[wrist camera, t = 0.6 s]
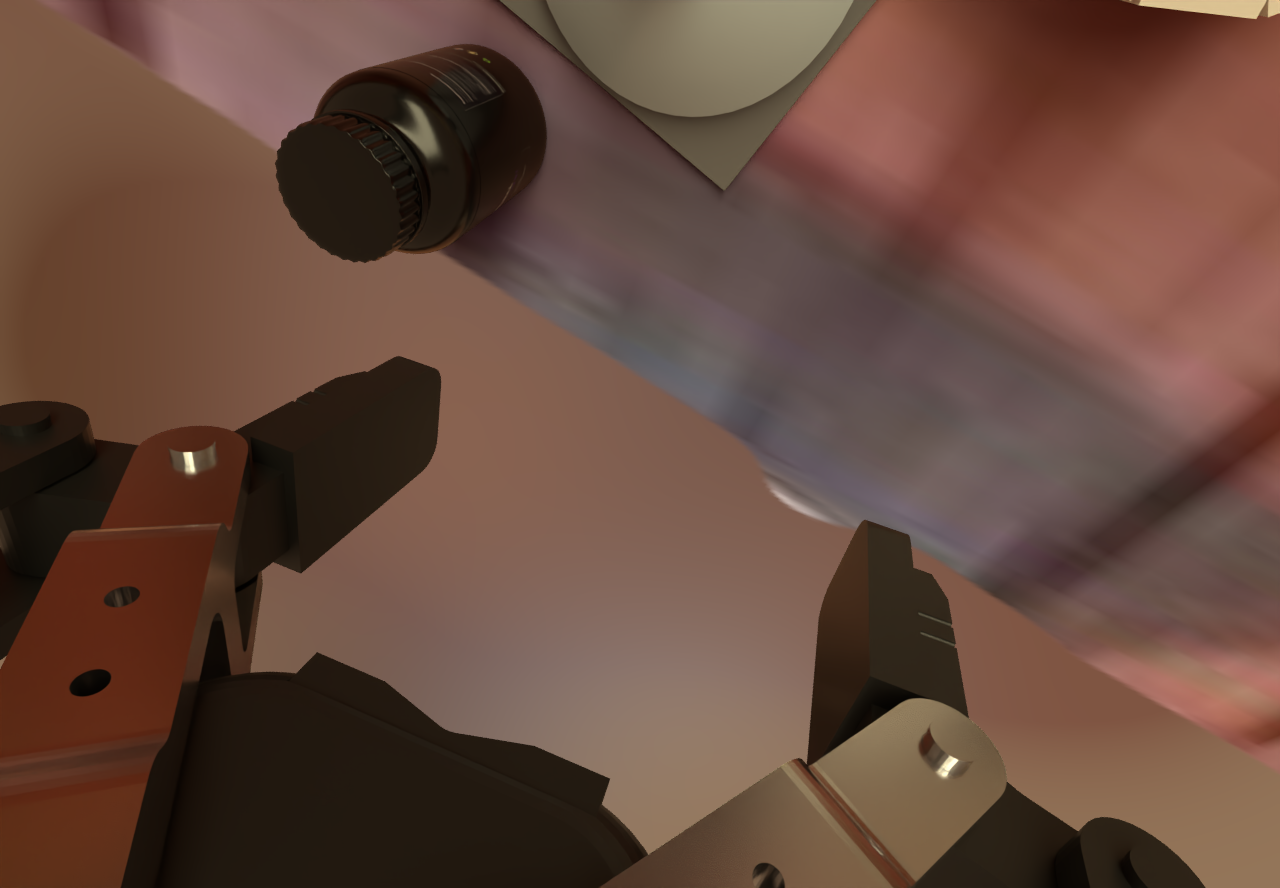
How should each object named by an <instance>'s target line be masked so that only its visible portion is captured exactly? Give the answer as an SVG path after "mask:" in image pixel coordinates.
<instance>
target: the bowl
mask: <svg viewBox="0 0 1280 888" xmlns="http://www.w3.org/2000/svg"><path fill="white" fill-rule="evenodd" d="M1121 1H1125V2H1129V3H1132V4H1136V5H1141V6H1149V7H1158V8H1166V9H1175V10H1183V11H1192V12H1200V13H1209V14H1217V15H1226V16H1234V17H1243V18H1251V19H1257V17H1258V15H1259V16H1264V17H1270V16H1273V15H1276V14H1278V13H1280V0H1121Z"/></svg>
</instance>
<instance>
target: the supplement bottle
mask: <svg viewBox="0 0 1280 888" xmlns="http://www.w3.org/2000/svg"><path fill="white" fill-rule="evenodd" d="M546 140H547V131H546V122H545V116H544V112H543V109H542V106H541V103H540V100H539V98H538V96H537V94H536V92H535V90H534V88H533V86H532V85H531V83H530V82H529V80H528V79H527V77H526V76H525V75H524V74H523V72H522V71H521V70H520V69H519V68H518V67H517V66H516V65H515V64H514V63H513V62H511V61H510V60H509V59H507V58H506V57H505V56H503V55H501V54H500V53H498V52H496V51H494V50H492V49H489V48H487V47H483V46H480V45H473V44H460V45H453V46H449V47H444V48H440V49H436V50H432V51H429V52H425V53H421V54H417V55H413V56H410V57H406V58H402V59H398V60H394V61H391V62H387V63H383V64H379V65H376V66H372V67H368V68H364V69H361V70H358V71H355V72H353V73H350V74H348V75H345V76H344V77H342V78H340V79H339V80H337V81H336V82H335V83H334V84H332V85H331V87H330V88H329V89H328V90H327V91H326V92H325V94H324V95H323V97H322V98H321V100H320V102H319V104H318V106H317V109H316V112H315V115H314V118H313V119H312V120H311V121H308V122H305V123H302V124H300V125H298V126H297V128H296V129H293V130H291V131H289V133H288V135H287V138H285V139H283V140H282V142H281V148H280V149H279V150H278V151H277V156H278V159H277V160H276V162H275V165H276V169H277V173H276V178H277V180H278V183H279V191H280V193H281V194H282V196H283V201H284V204H285V205H286V207H287V208H288V209H289V212H290V215H291V217H292V218H293V219H294V220H295V221H296V222H297V224H298V226H299V228H300V229H301V230H303V231H304V232H305V233H306V235H307V236H308V238H309V239H311V240H312V241H314V242H316V244H317V245H318V246H319V247H320V248H322V249H325V250H327V251H328V252H329V253H330V254H331V255H336V256H338V257H340V258H341V259H343V260H347V259H348V260H350V261H353V262H358V261H361V262H364V263H366V262H369V261H371V260H372V261H376V260H379V259H380V258H382V257H384V256H387V255H389V254H390V253H392V252H393V251H398V252H403V253H411V254H423V253H430V252H434V251H438V250H440V249H443V248H445V247H447V246H448V245H450V244H452V243H453V242H455V241H456V240H458V239H459V238H460V237H462V236H463V235H464V234H466V233H467V232H468V231H470V230H471V229H472V228H474V227H475V226H476V225H477V224H479V223H480V222H481V221H483V220H484V219H485V218H487V217H488V216H489V215H490V214H492V213H493V212H494V211H496V210H497V209H498V208H500V207H501V206H502V205H503V204H505V203H506V202H507V201H509V200H510V199H511V198H513V197H514V196H515V195H516V194H518V193H519V192H520V191H521V190H522V189H524V188H525V187H526V186H527V185H528V184H529V183H530V182H531V181H532V179H533V178H534V177H535V175H536V174H537V172H538V170H539V168H540V166H541V164H542V161H543V158H544V154H545V149H546Z"/></svg>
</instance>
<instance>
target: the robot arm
mask: <svg viewBox="0 0 1280 888" xmlns="http://www.w3.org/2000/svg"><path fill="white" fill-rule="evenodd" d="M440 391H441V376H440V373H439V371H438V370H437V369H435V368H432V367H429V366H427V365H423V364H421V363H418V362H415V361H412V360H409V359H406V358H403V357H400V356H398V357H394V358H392V359H391V360H388V361H387V362H385V363H383V364H381V365H379V366H378V367H376V368H374V369H372V370H370V371H369V372H365V371H364V372H359V373H355V374H351V375H346V376H342V377H338V378H335V379H333V380H331V381H329V382H327V383H325V384H323V385H322V386H320V387H318V388H316V389H315V390H314V392H311V391H310V392H308V393H306V394H304V395H303V396H301V397H299V398H297V400H296V402H294V401H291V402H289V403H288V404H285V405H284V406H282V407H280V408H278V409H276V410H274V411H272V412H271V413H268V414H267V415H265V416H263V417H261V418H259V419H257V420H255V421H253V422H251V423H249V424H247V425H245V426H243V427H242V428H240V429H238V430H236V431H231V430H228V429H224V428H219V427H212V426H189V427H181V428H176V429H171V430H167V431H164V432H161V433H159V434H156V435H154V436H152V437H150V438H148V439H147V440H145V441H143V442H142V443H141V444H140V445H132V444H125V443H118V442H110V441H103V440H97V439H94V437H93V433H92V429H91V425H90V421H89V417H88V415H87V414H86V412H85V411H83V410H82V409H80V408H78V407H76V406H73V405H70V404H66V403H61V402H52V401H30V402H19V403H12V404H7V405H2V406H0V660H1V659H3V658H4V657H5V656H7V657H6V659H5V661H4V663H3V665H2V667H1V669H0V888H1205V886H1204V885H1203V884H1202V882H1201V881H1200V879H1199V878H1198V877H1197V876H1196V875H1195V873H1194V872H1193V871H1192V870H1191V869H1190V868H1189V866H1187V864H1186V863H1184V861H1182V860H1181V858H1180V857H1179V856H1178V855H1176V854H1175V853H1174V852H1173V851H1172V850H1171V849H1169V848H1168V847H1167V846H1166V845H1165V844H1163V843H1162V842H1161V841H1159V840H1158V839H1156V838H1155V837H1154V836H1152V835H1150V834H1149V833H1147V832H1146V831H1144V830H1142V829H1140V828H1138V827H1136V826H1134V825H1133V824H1130V823H1127V822H1125V821H1122V820H1119V819H1114V818H1108V817H1100V818H1095V819H1093V820H1091V821H1089V822H1087V823H1086V825H1084V826H1083V827H1082V828H1081V829H1080V830H1079V831H1076V830H1075V829H1073V828H1072V827H1070V826H1069V825H1067V824H1066V823H1064V822H1063V821H1061V820H1060V819H1058V818H1057V817H1055V816H1054V815H1052V814H1051V813H1049V812H1048V811H1046V810H1045V809H1043V808H1042V807H1040V806H1039V805H1037V804H1036V803H1035V802H1033V801H1032V800H1030V799H1029V798H1027V797H1026V796H1024V795H1023V794H1021V793H1020V792H1019V791H1017V790H1016V789H1015V788H1014V787H1013V786H1012V785H1010V784H1009V783H1008V782H1007V776H1006V770H1005V766H1004V763H1003V760H1002V758H1001V756H1000V754H999V752H998V750H997V749H996V747H995V746H994V744H993V743H992V741H991V740H990V739H989V738H988V737H987V735H986V734H985V733H984V732H983V731H982V730H981V729H980V728H979V727H978V726H977V725H976V724H975V723H974V722H972V721H971V720H970V719H969V716H968V711H967V705H966V699H965V694H964V688H963V682H962V677H961V671H960V665H959V659H958V654H957V649H956V648H954V647H955V644H956V643H955V637H954V631H953V628H951V625H952V620H951V614H950V608H949V602H948V599H947V597H946V596H945V594H944V592H943V591H942V589H941V588H940V586H939V585H938V583H937V582H936V580H935V579H934V577H933V576H932V574H929V573H927V572H924V571H921V570H918V569H915V568H913V560H912V550H911V542H910V537H909V535H908V534H905V533H902V532H899V531H896V530H893V529H890V528H888V527H885V526H882V525H879V524H876V523H873V522H870V521H867V520H864V521H862V522H861V524H860V525H859V527H858V528H857V530H856V532H855V534H854V536H853V538H852V540H851V542H850V544H849V546H848V548H847V550H846V552H845V554H844V557H843V558H842V560H841V562H840V565H839V566H838V568H837V571H836V573H835V575H834V577H833V579H832V581H831V583H830V585H829V587H828V589H827V592H826V594H825V597H824V600H823V603H822V607H821V611H820V616H819V622H818V635H817V646H816V659H815V672H814V683H813V695H812V696H813V697H812V708H811V720H810V733H809V745H808V757H807V765H806V763H805V762H804V761H803V760H802V759H800V758H798V759H794V760H791V761H789V762H787V763H785V764H784V765H782V766H781V767H779V768H778V769H776V770H775V771H773V772H772V773H770V774H769V775H767V776H766V777H764V778H763V779H761V780H760V781H758V782H757V783H755V784H754V785H752V786H751V787H749V788H748V789H746V790H745V791H743V792H742V793H740V794H739V795H737V796H736V797H734V798H733V799H731V800H730V801H728V802H727V803H725V804H724V805H722V806H721V807H719V808H718V809H716V810H715V811H713V812H712V813H710V814H709V815H707V816H706V817H704V818H703V819H701V820H700V821H698V822H697V823H695V824H694V825H692V826H691V827H689V828H688V829H686V830H685V831H683V832H682V833H680V834H679V835H677V836H676V837H674V838H673V839H671V840H670V841H668V842H667V843H665V844H664V845H662V846H661V847H659V848H658V849H656V850H655V851H653V852H652V853H650V854H649V855H648V854H647V852H646V850H645V849H644V847H643V846H642V845H641V844H640V842H639V841H638V840H637V839H636V837H635V836H634V835H633V833H632V832H631V831H630V830H629V829H628V828H627V827H626V826H625V825H624V824H623V823H622V822H621V821H620V820H619V819H618V818H617V817H616V816H615V815H614V814H613V813H611V812H610V811H609V810H608V809H606V808H605V807H604V806H603V805H602V802H603V799H604V796H605V792H606V790H607V787H608V784H609V780H610V779H609V778H607V777H605V776H603V775H600V774H598V773H595V772H593V771H590V770H588V769H586V768H584V767H582V766H579V765H577V764H575V763H572V762H570V761H568V760H565V759H563V758H561V757H558V756H556V755H554V754H551V753H549V752H547V751H545V750H542V749H540V748H538V747H535V746H531V745H525V744H519V743H513V742H507V741H500V740H495V739H489V738H483V737H477V736H471V735H465V734H458V733H453V732H450V731H447V730H445V729H443V728H442V727H440V726H439V725H438V724H437V723H435V722H434V721H433V720H432V719H430V718H429V717H428V716H427V715H425V714H424V713H423V712H422V711H421V710H419V709H418V708H417V707H415V706H414V705H413V704H412V703H411V702H409V701H408V700H407V699H406V698H405V697H403V696H402V695H401V694H399V692H397V691H396V690H395V689H393V688H392V687H391V686H390V685H388V684H387V683H386V682H385V681H382V680H380V679H378V678H375V677H373V676H371V675H368V674H366V673H364V672H362V671H359V670H357V669H355V668H352V667H350V666H348V665H345V664H343V663H341V662H338V661H336V660H334V659H331V658H329V657H327V656H324V655H322V654H320V653H318V652H317V653H316V654H315V655H314V656H313V657H312V658H311V659H310V660H309V661H308V662H307V663H306V664H305V665H304V666H303V667H302V668H301V669H300V670H299V671H298V672H297V673H296V674H295V673H286V672H255V673H250V671H251V663H252V656H253V649H254V642H255V635H256V628H257V621H258V614H259V607H260V600H261V593H262V585H263V580H262V570H263V569H265V568H266V567H267V566H268V565H270V564H271V563H272V562H274V563H277V564H279V565H282V566H284V567H287V568H289V569H292V570H294V571H296V572H299V573H302V572H303V571H304V570H306V569H307V568H308V567H309V566H310V565H312V564H313V563H314V562H315V561H316V560H318V559H319V558H320V557H321V556H322V555H323V554H325V553H326V552H327V551H328V550H329V549H331V548H332V547H333V546H334V545H335V544H336V543H338V542H339V541H340V540H341V539H342V538H344V537H345V536H346V535H347V534H348V533H350V532H351V531H352V530H353V529H354V528H355V527H357V526H358V525H359V524H360V523H361V522H363V521H364V520H365V519H366V518H367V517H369V516H370V515H371V514H372V513H373V512H375V511H376V510H377V509H378V508H379V507H380V506H382V505H383V504H384V503H385V502H386V501H387V500H389V499H390V498H391V497H392V496H393V495H395V494H396V493H397V492H398V491H399V490H401V489H402V488H403V487H404V486H405V485H407V484H408V483H409V482H410V481H411V480H413V479H414V478H415V477H416V476H417V475H418V474H420V473H421V472H422V471H423V470H424V469H425V468H426V467H427V465H428V464H429V462H430V460H431V459H432V456H433V454H434V452H435V448H436V444H437V436H438V420H439V406H440Z"/></svg>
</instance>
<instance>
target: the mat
mask: <svg viewBox="0 0 1280 888" xmlns="http://www.w3.org/2000/svg"><path fill="white" fill-rule="evenodd" d="M500 1H501V2H502V3H503V4H505V5H506V6H507V7H508V8H509V9H510V10H512V11H513V12H514V13H515V14H516V15H518V16H519V17H520V18H521V19H522V20H523V21H525V22H526V23H527V24H528V25H529V26H530V27H532V28H533V29H534V30H535V31H536V32H538V33H539V34H540V35H541V36H542V37H543V38H545V39H546V40H547V41H548V42H549V43H551V44H552V45H553V46H554V47H555V48H556V49H558V50H559V51H560V52H561V53H562V54H564V55H565V56H566V57H567V58H568V59H569V60H571V61H572V62H573V63H574V64H575V65H576V66H578V67H579V68H580V69H581V70H582V71H584V72H585V73H586V74H587V75H588V76H589V77H591V78H592V79H593V80H594V81H595V82H597V83H598V84H599V85H600V86H601V87H602V88H604V89H605V90H606V91H607V92H608V93H609V94H611V95H612V96H613V97H614V98H615V99H617V100H618V101H619V102H620V103H621V104H622V105H624V106H625V107H626V108H627V109H628V110H630V111H631V112H632V113H633V114H634V115H635V116H637V117H638V118H639V119H640V120H641V121H642V122H644V123H645V124H646V125H647V126H648V127H650V128H651V129H652V130H653V131H654V132H655V133H657V134H658V135H659V136H660V137H661V138H663V139H664V140H665V141H666V142H667V143H668V144H670V145H671V146H672V147H673V148H674V149H676V150H677V151H678V152H679V153H680V154H681V155H683V156H684V157H685V158H686V159H687V160H688V161H690V162H691V163H692V164H693V165H694V166H696V167H697V168H698V169H699V170H700V171H701V172H703V173H704V174H705V175H706V176H707V177H709V178H710V179H711V180H712V181H713V182H714V183H716V184H717V185H718V186H719V187H720V188H721V189H723V190H724V191H725V189H726V188H727V187H728V186H729V184H730V183H731V182H732V181H733V179H734V178H735V177H736V176H737V174H738V173H739V172H740V171H741V169H742V168H743V167H744V166H745V164H746V163H747V162H748V161H749V159H750V158H751V157H752V156H753V154H754V153H755V152H756V151H757V149H758V148H759V147H760V146H761V144H762V143H763V142H764V141H765V139H766V138H767V137H768V135H769V134H770V133H771V132H772V130H773V129H774V128H775V127H776V125H777V124H778V123H779V122H780V120H781V119H782V118H783V117H784V115H785V114H786V113H787V112H788V110H789V109H790V108H791V107H792V105H793V104H794V103H795V102H796V100H797V99H798V98H799V97H800V95H801V94H802V93H803V92H804V90H805V89H806V88H807V87H808V85H809V84H810V83H811V82H812V80H813V79H814V78H815V77H816V75H817V74H818V73H819V72H820V70H821V69H822V68H823V67H824V65H825V64H826V63H827V62H828V60H829V59H830V58H831V56H832V55H833V54H834V53H835V51H836V50H837V49H838V48H839V46H840V45H841V44H842V43H843V41H844V40H845V39H846V38H847V36H848V35H849V34H850V33H851V31H852V30H853V29H854V28H855V26H856V25H857V24H858V23H859V21H860V20H861V19H862V18H863V16H864V15H865V14H866V13H867V11H868V10H869V9H870V8H871V6H872V5H873V4H874V3H875V1H876V0H854V1H853V2H852V4H851V6H850V8H849V10H848V12H847V13H846V15H845V17H844V19H843V21H842V23H841V24H840V26H839V27H838V29H837V30H836V31H835V33H834V34H833V36H832V37H831V39H830V40H829V41H828V43H827V44H826V46H825V47H824V48H823V49H822V50H821V51H820V53H819V54H818V55H817V56H816V57H815V58H814V59H813V61H812V62H811V63H810V64H809V65H808V66H807V67H806V68H805V69H804V70H802V71H801V72H800V73H799V74H798V75H797V76H796V77H795V78H794V79H793V80H791V81H790V82H789V83H787V84H786V85H784V86H783V87H782V88H780V89H779V90H777V91H776V92H774V93H773V94H771V95H770V96H768V97H766V98H764V99H762V100H760V101H758V102H756V103H754V104H752V105H750V106H747V107H744V108H741V109H739V110H736V111H733V112H729V113H724V114H719V115H714V116H702V117H686V116H674V115H669V114H665V113H661V112H656V111H653V110H650V109H648V108H645V107H643V106H640V105H637V104H635V103H634V102H632V101H630V100H628V99H626V98H625V97H623V96H621V95H619V94H618V93H616V92H615V91H614V90H612V89H611V88H610V87H608V86H607V85H606V84H604V83H603V82H602V81H601V80H600V79H599V78H598V77H597V76H596V75H594V74H593V73H592V72H591V71H590V70H589V69H588V68H587V67H586V66H585V64H584V63H583V62H582V61H581V59H580V58H579V57H578V56H577V54H576V53H575V52H574V51H573V49H572V48H571V46H570V45H569V43H568V42H567V40H566V39H565V37H564V35H563V34H562V32H561V31H560V29H559V27H558V25H557V23H556V21H555V19H554V17H553V15H552V13H551V11H550V9H549V6H548V3H547V1H546V0H500Z"/></svg>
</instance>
